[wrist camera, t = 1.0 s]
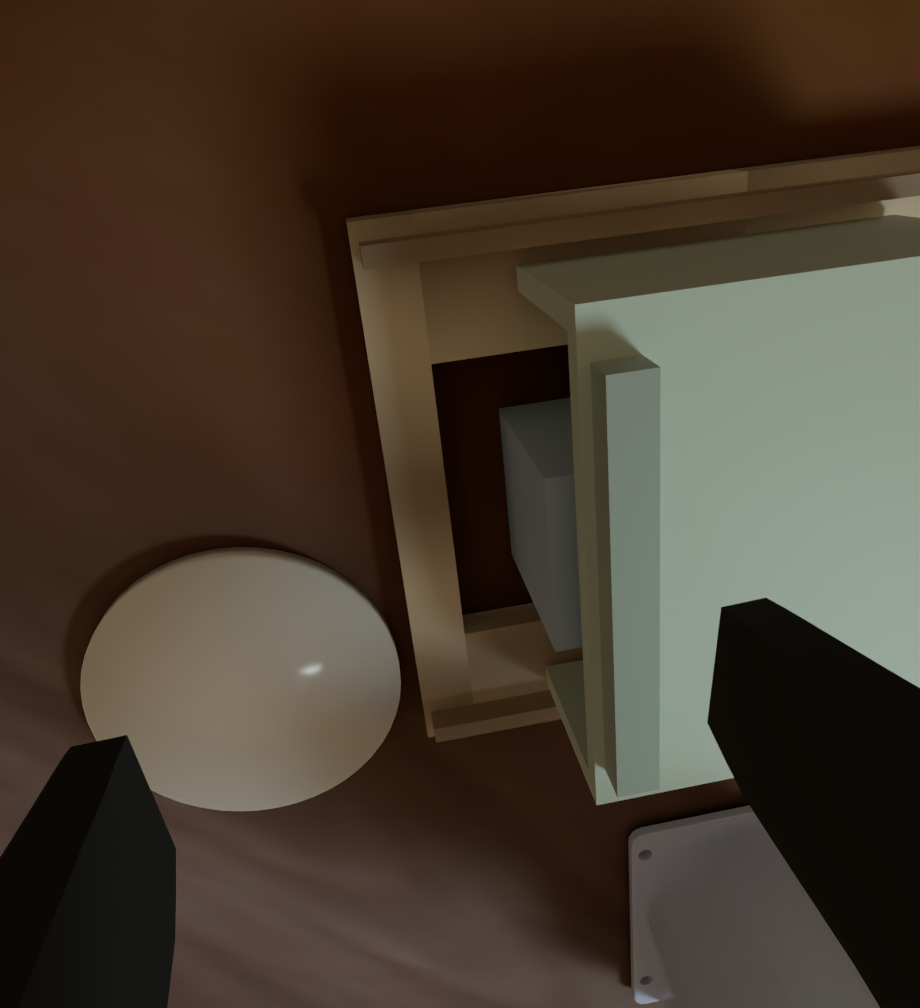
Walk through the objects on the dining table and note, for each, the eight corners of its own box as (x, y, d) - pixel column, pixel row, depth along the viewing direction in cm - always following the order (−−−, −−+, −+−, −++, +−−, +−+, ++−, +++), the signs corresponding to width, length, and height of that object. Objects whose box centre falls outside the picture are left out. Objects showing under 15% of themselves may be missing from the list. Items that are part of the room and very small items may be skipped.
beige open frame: (1032, 602, 27) (1077, 632, 26) (424, 716, 25) (431, 755, 24) (1149, 116, 21) (1219, 114, 19) (345, 218, 19) (347, 225, 17)
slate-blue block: (658, 528, 24) (735, 619, 19) (511, 553, 23) (555, 652, 19) (659, 383, 22) (744, 446, 17) (498, 407, 21) (544, 479, 17)
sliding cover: (843, 627, 25) (981, 757, 20) (546, 682, 24) (607, 834, 19) (894, 214, 20) (1100, 241, 14) (515, 265, 19) (589, 314, 13)
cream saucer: (416, 766, 26) (419, 780, 26) (135, 821, 25) (131, 836, 25) (375, 522, 22) (376, 532, 22) (41, 577, 21) (34, 588, 21)
